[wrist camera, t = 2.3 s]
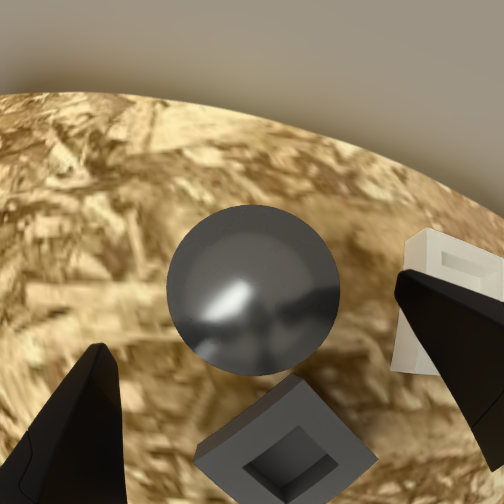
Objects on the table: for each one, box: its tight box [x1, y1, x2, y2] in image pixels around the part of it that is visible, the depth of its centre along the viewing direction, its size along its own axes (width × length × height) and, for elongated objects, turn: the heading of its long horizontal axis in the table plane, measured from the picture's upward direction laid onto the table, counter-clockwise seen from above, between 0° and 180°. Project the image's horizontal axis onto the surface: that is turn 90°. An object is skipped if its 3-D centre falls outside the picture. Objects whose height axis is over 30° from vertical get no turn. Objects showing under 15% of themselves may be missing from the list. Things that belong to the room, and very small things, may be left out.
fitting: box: [166, 205, 340, 376], centre depth 12 cm, size 5×5×9 cm
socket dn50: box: [390, 227, 504, 375], centre depth 16 cm, size 9×9×3 cm
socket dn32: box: [193, 373, 378, 504], centre depth 13 cm, size 7×7×3 cm
